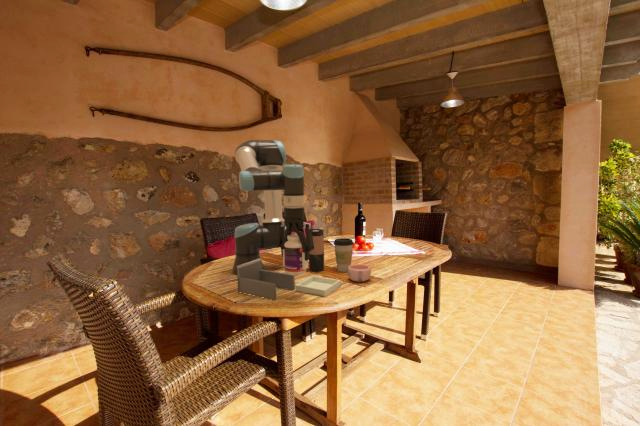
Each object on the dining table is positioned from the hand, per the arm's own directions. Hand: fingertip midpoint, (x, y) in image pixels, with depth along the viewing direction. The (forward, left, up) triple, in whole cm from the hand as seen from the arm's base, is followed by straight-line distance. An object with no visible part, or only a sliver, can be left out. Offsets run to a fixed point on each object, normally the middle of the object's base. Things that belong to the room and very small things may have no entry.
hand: (295, 266), depth 114 cm
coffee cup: (+1, +40, -12) cm, 41 cm away
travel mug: (-11, +34, -12) cm, 37 cm away
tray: (+3, +11, -11) cm, 16 cm away
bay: (-14, 0, -11) cm, 18 cm away
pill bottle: (0, 0, -3) cm, 3 cm away
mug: (+13, +30, -12) cm, 35 cm away
